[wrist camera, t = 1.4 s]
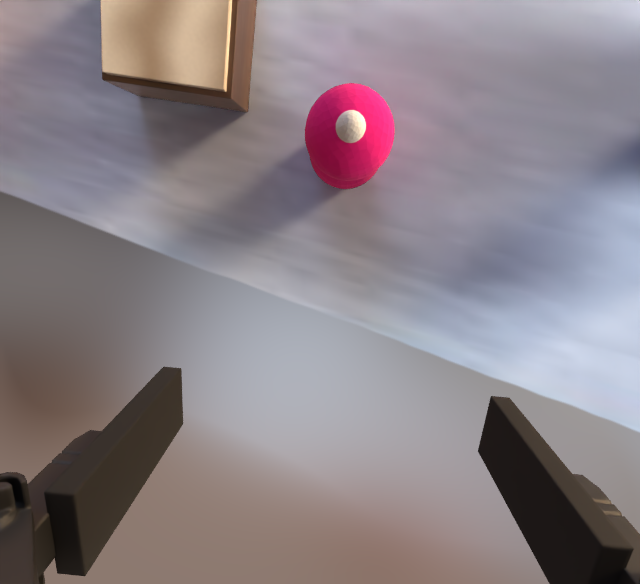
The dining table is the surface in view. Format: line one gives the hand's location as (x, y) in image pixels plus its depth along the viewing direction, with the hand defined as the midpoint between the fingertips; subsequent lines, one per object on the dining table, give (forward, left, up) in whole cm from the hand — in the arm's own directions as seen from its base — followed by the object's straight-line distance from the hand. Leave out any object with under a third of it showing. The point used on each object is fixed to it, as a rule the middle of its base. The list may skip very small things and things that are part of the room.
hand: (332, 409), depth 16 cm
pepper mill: (-3, -12, -29) cm, 32 cm away
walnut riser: (+10, -26, -29) cm, 40 cm away
